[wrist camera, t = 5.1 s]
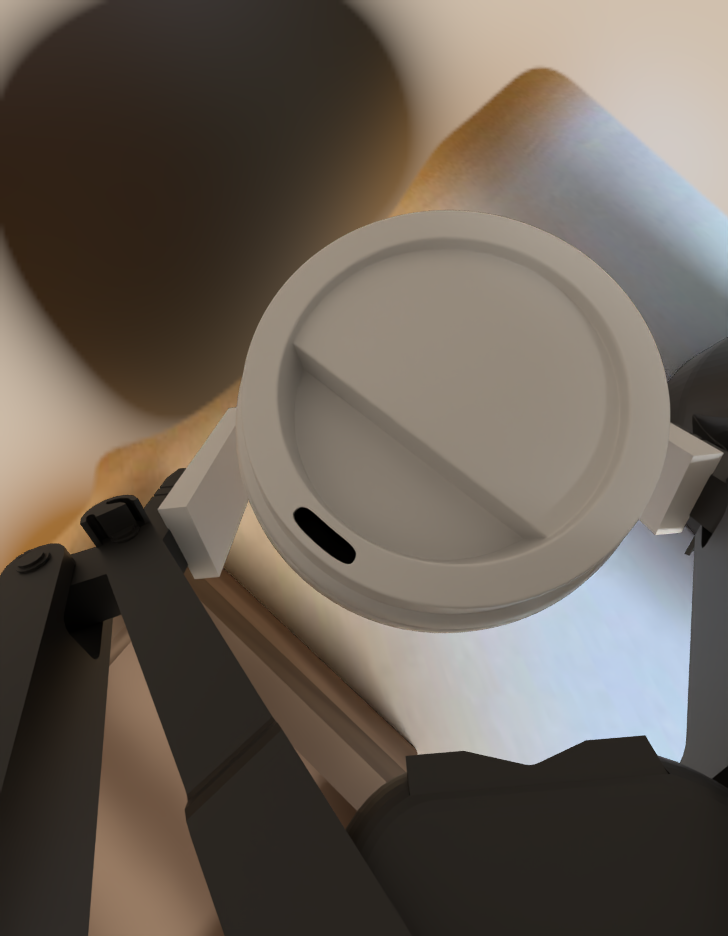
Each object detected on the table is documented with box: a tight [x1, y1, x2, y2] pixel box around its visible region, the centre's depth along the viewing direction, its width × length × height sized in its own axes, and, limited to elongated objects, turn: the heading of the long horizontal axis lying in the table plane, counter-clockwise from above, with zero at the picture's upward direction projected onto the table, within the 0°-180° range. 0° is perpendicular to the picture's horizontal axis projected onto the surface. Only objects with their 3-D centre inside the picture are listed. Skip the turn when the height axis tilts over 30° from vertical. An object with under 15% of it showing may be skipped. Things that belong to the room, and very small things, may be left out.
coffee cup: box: [236, 210, 670, 633], centre depth 14 cm, size 10×10×15 cm
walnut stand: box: [88, 566, 417, 936], centre depth 16 cm, size 16×16×5 cm
